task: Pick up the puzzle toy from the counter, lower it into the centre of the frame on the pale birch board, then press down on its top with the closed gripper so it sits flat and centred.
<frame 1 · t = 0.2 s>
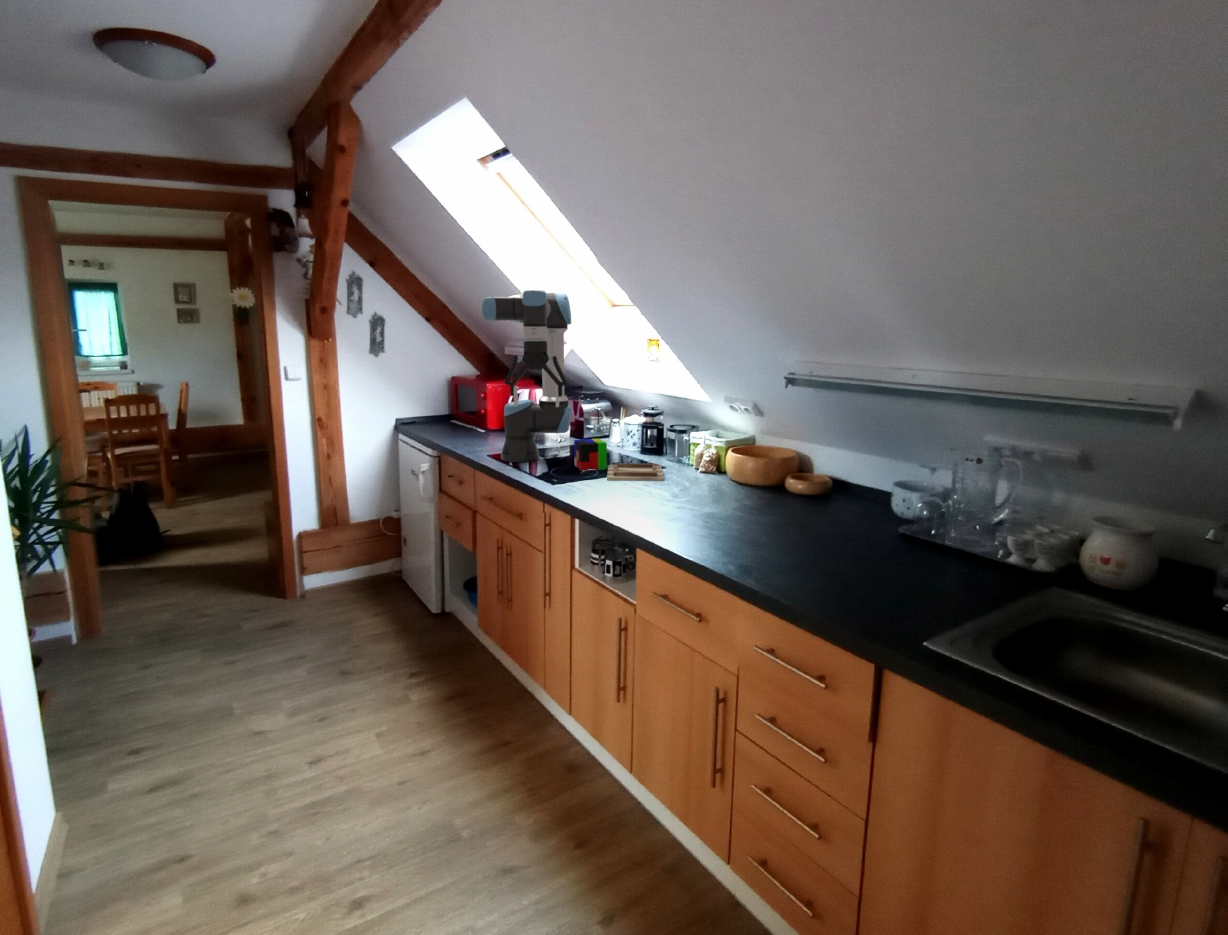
hand: (536, 406, 227), 28 cm above the worktop, tool pointing down, fingers open, 13 cm apart
locating board: (635, 473, 255), on the worktop
puzzle toy: (590, 467, 266), on the worktop
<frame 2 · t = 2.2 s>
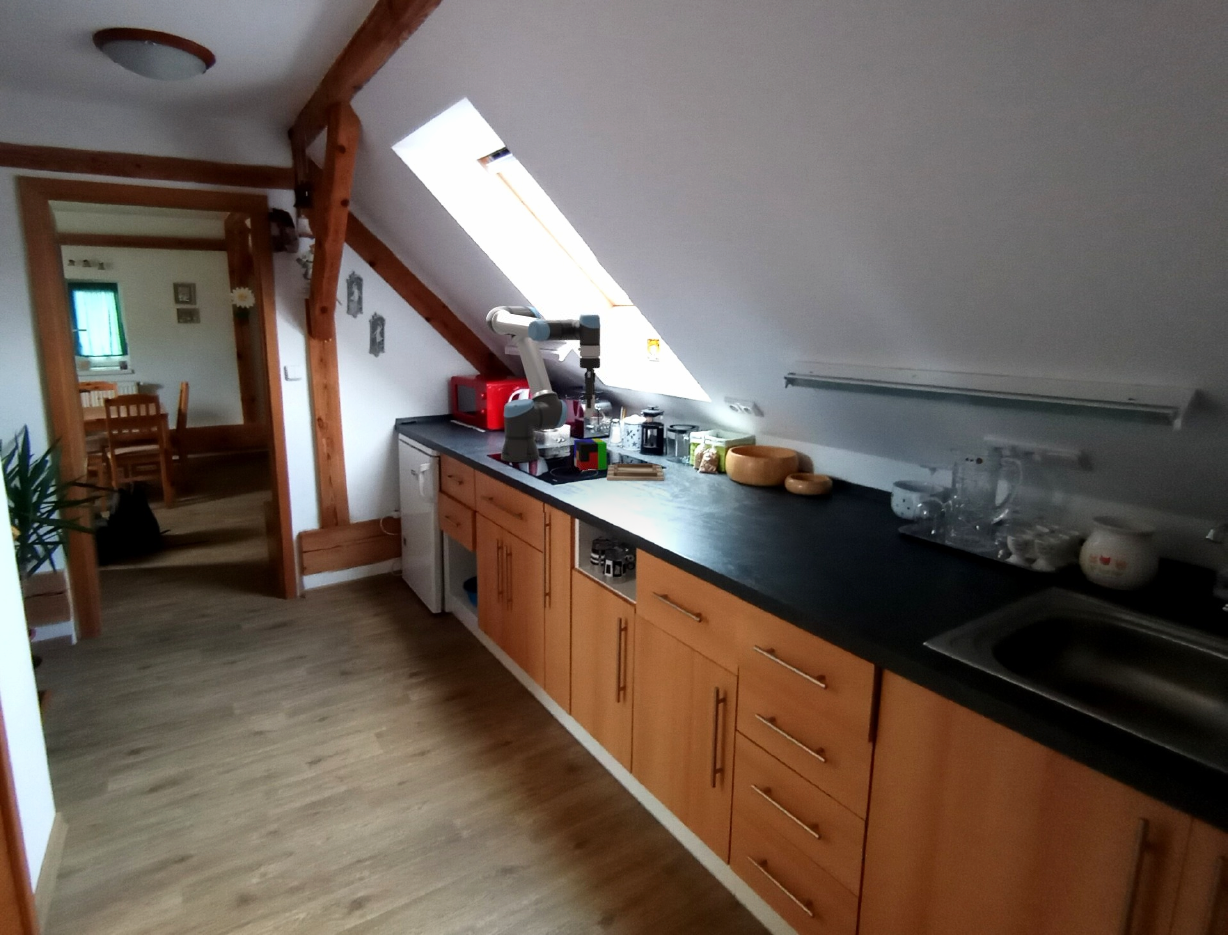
hand: (590, 414, 262), 20 cm above the worktop, tool pointing down, fingers open, 13 cm apart
nothing on the worktop moved.
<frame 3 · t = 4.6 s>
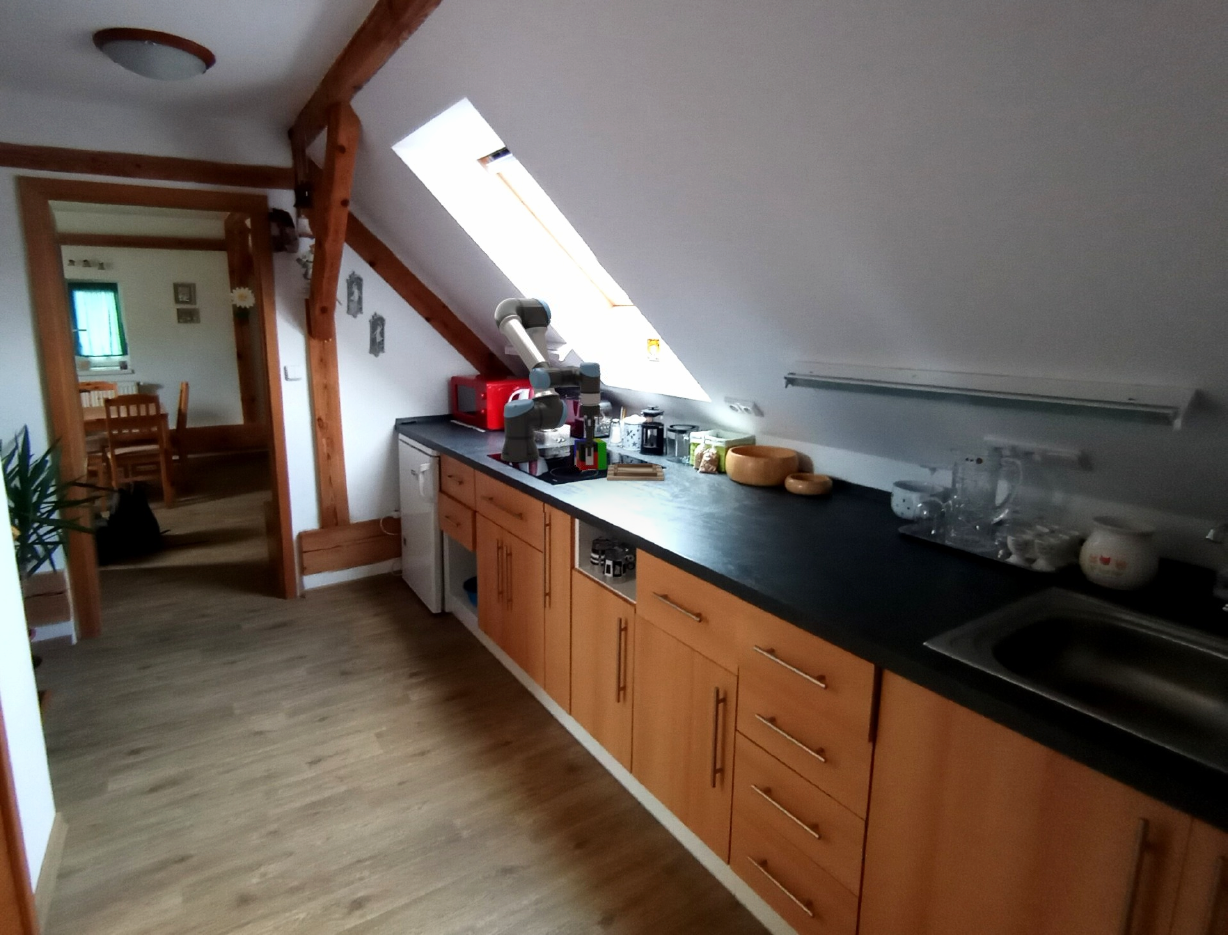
hand: (590, 461, 266), 2 cm above the worktop, tool pointing down, fingers closed on puzzle toy, 11 cm apart
puzzle toy: (590, 467, 266), on the worktop, touching gripper
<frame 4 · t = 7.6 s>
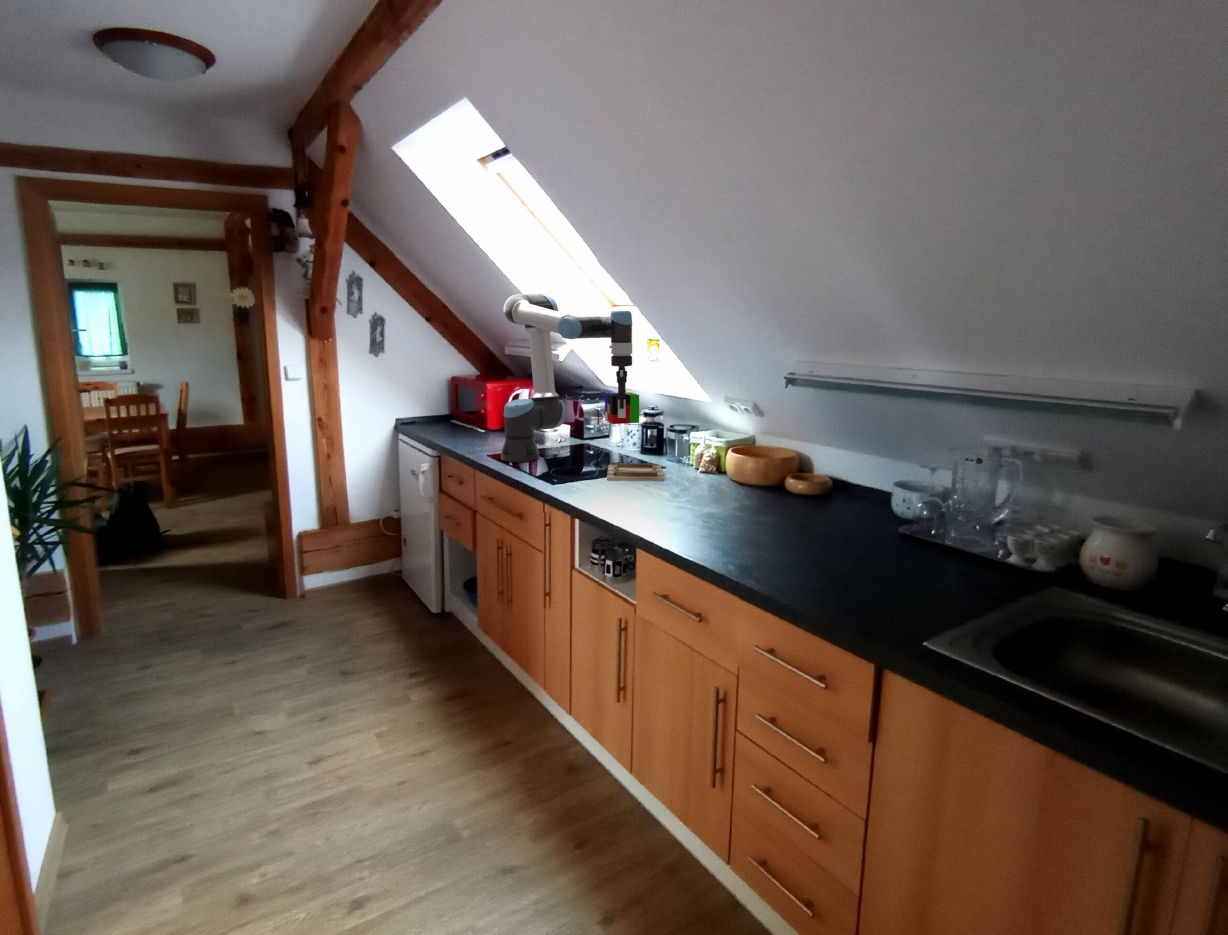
hand: (622, 415, 254), 21 cm above the worktop, tool pointing down, fingers closed on puzzle toy, 11 cm apart
puzzle toy: (621, 422, 254), point 19 cm above the worktop, touching gripper
when the fingers open (5 cm above the worktop, at t = 11.0 s): puzzle toy drops 1 cm, resting on locating board.
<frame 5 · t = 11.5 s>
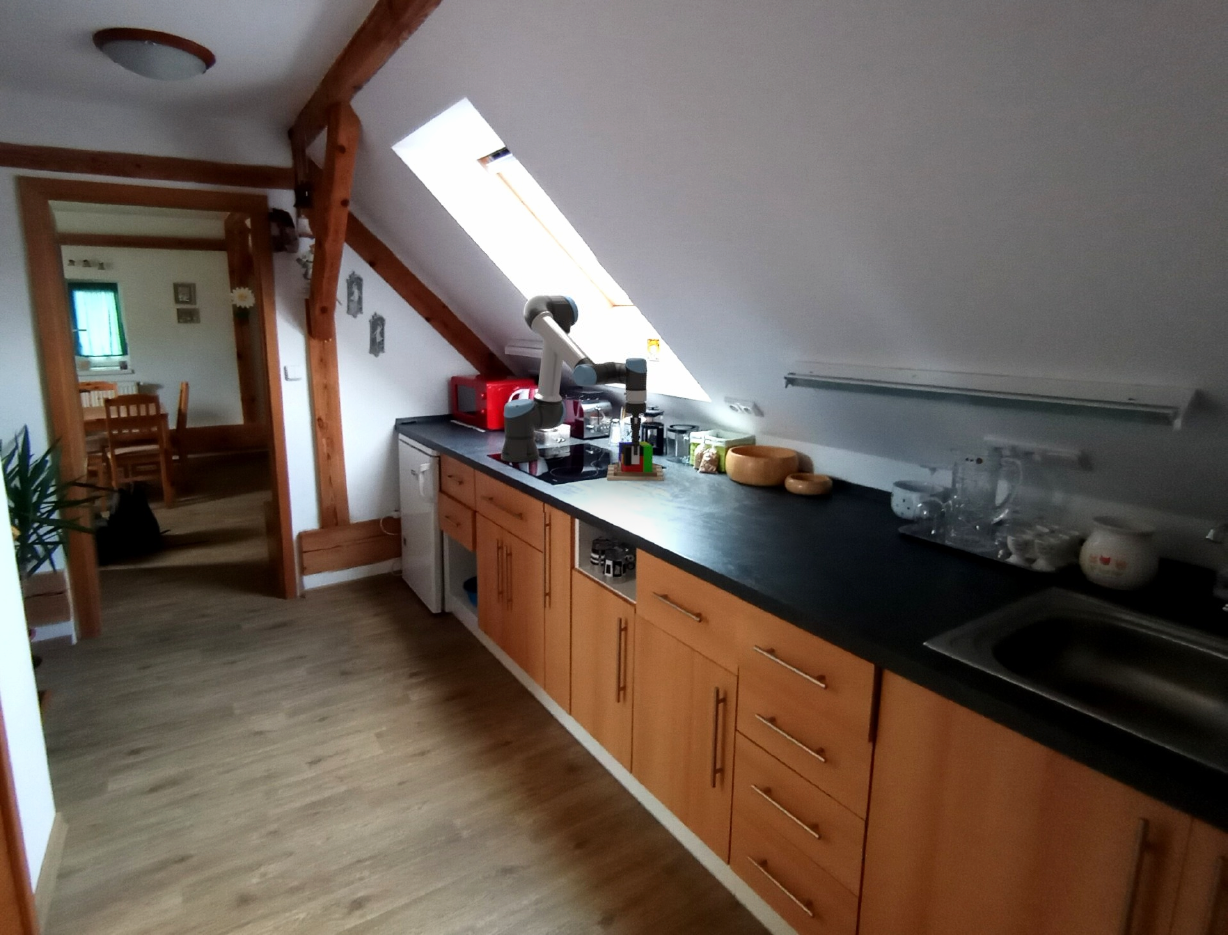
hand: (635, 460, 254), 5 cm above the worktop, tool pointing down, fingers open, 13 cm apart
puzzle toy: (635, 471, 255), point 1 cm above the worktop, touching locating board
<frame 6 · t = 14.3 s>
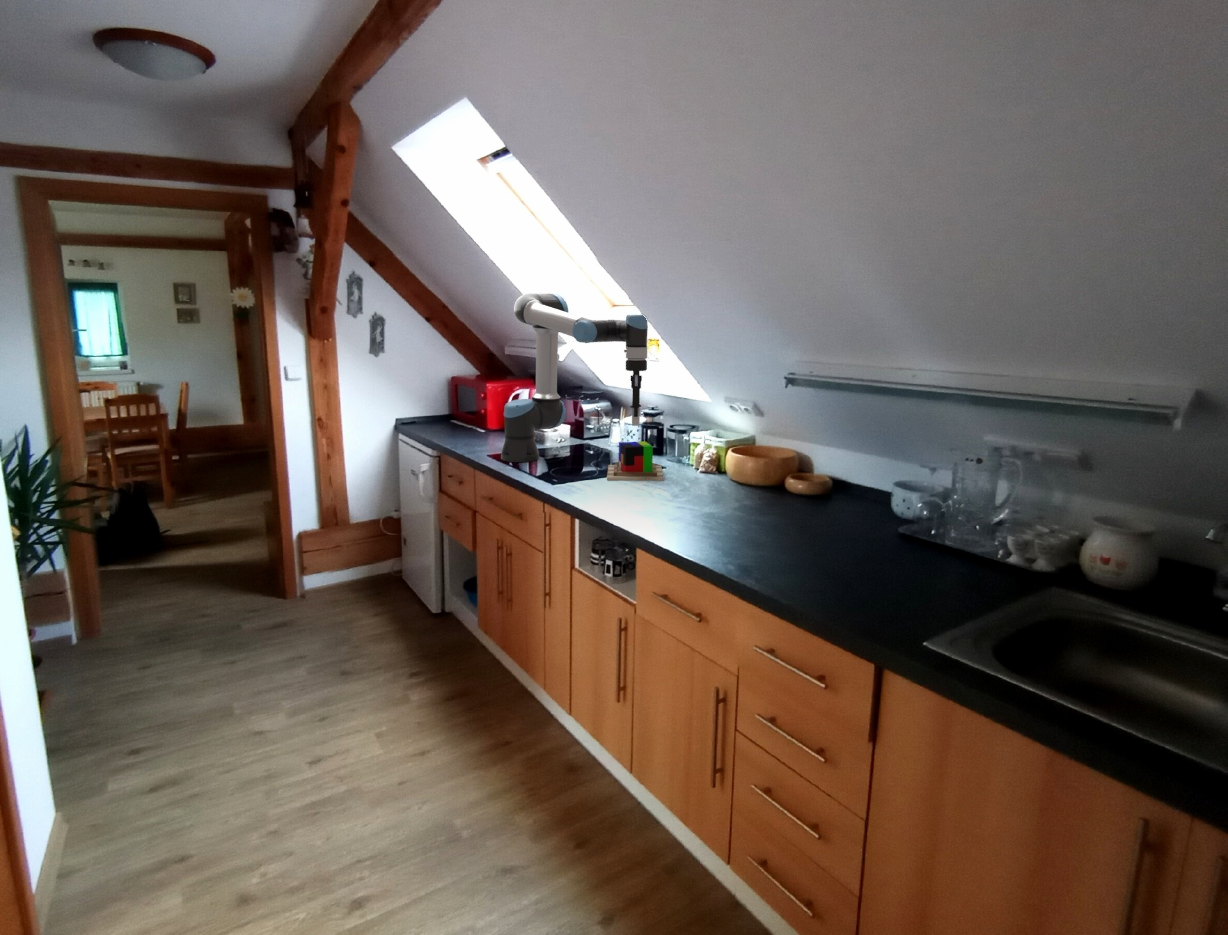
hand: (635, 425, 251), 18 cm above the worktop, tool pointing down, fingers closed
nothing on the worktop moved.
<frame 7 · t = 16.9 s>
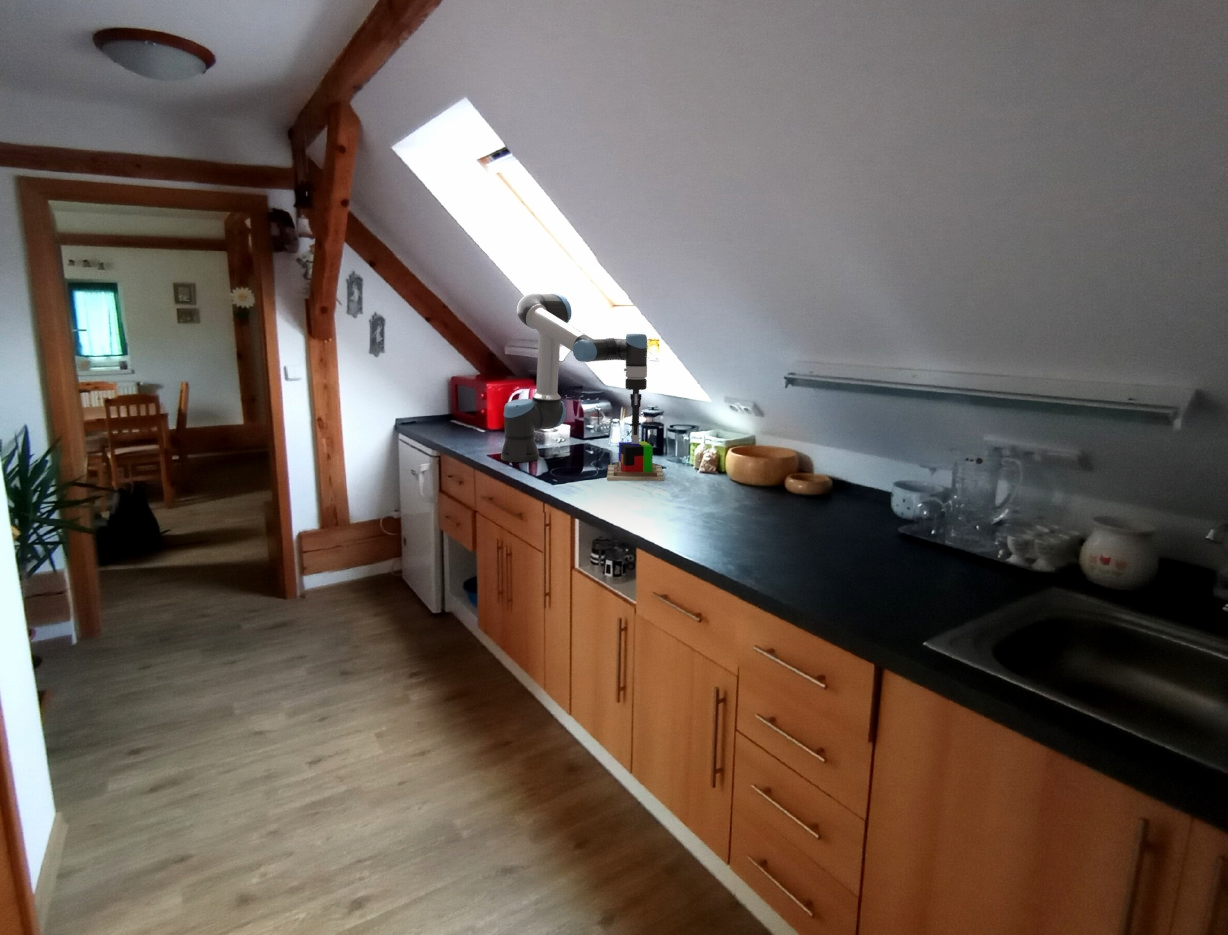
hand: (635, 443, 253), 11 cm above the worktop, tool pointing down, fingers closed
nothing on the worktop moved.
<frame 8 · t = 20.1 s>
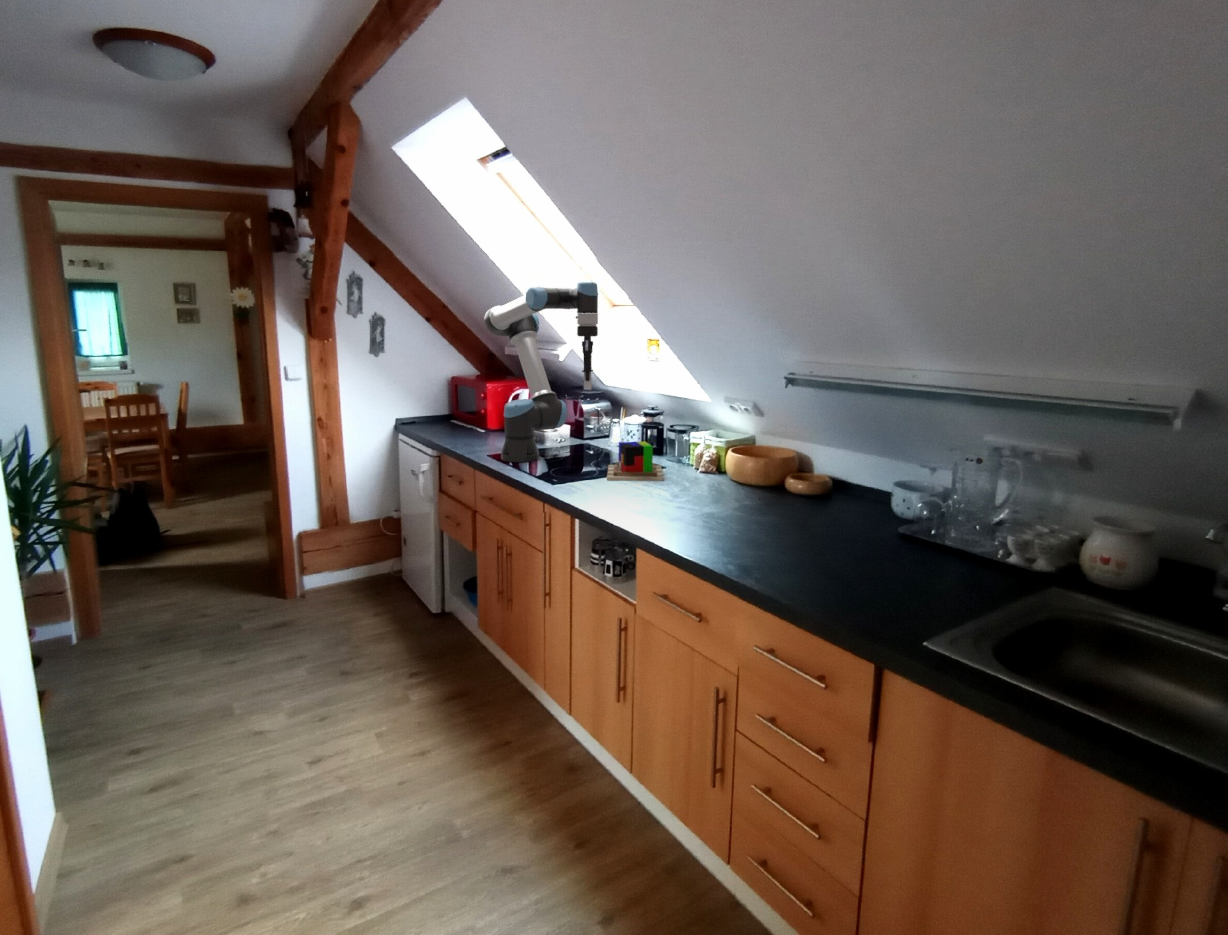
hand: (587, 389, 262), 29 cm above the worktop, tool pointing down, fingers closed
nothing on the worktop moved.
at the end: puzzle toy 0.1 cm off-centre on the locating board, point 0.8 cm above the locating board's base; puzzle toy tilted 0°; the gripper is holding nothing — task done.
